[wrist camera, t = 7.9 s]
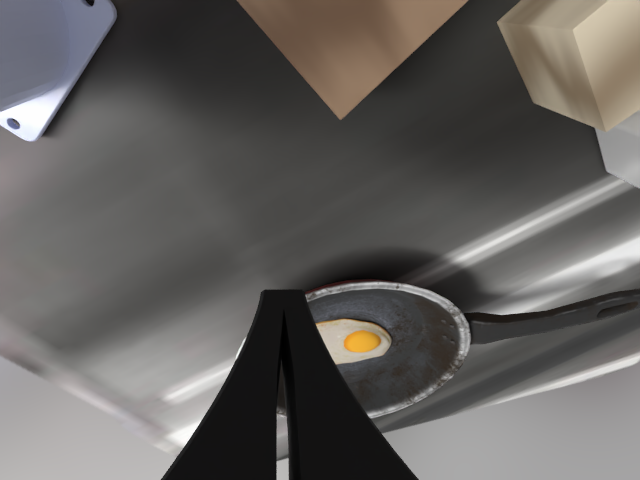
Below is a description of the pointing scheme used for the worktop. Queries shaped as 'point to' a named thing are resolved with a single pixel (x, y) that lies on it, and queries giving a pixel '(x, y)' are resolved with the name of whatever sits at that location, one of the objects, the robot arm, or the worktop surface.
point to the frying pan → (420, 336)
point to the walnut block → (348, 40)
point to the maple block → (578, 56)
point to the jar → (622, 149)
